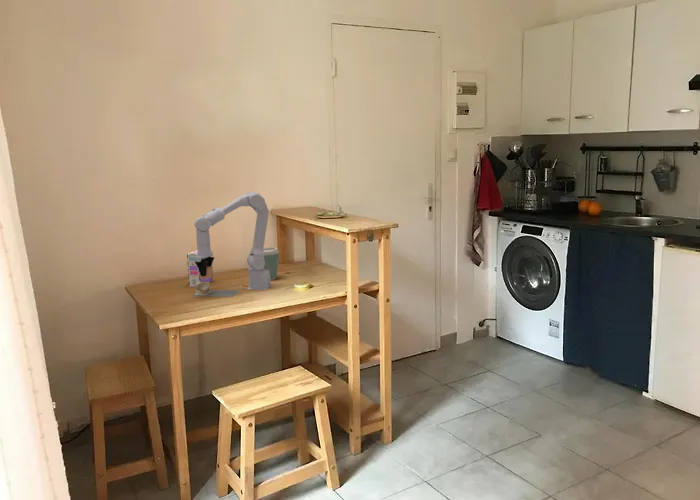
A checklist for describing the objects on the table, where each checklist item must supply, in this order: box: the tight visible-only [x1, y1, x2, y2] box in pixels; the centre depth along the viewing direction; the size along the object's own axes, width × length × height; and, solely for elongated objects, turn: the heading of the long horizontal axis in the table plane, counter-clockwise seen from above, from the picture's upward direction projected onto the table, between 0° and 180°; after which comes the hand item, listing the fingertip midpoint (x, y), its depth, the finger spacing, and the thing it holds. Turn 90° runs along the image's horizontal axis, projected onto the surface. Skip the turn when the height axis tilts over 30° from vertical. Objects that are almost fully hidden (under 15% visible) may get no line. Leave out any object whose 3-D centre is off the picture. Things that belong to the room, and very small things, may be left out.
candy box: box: [186, 249, 213, 288], centre depth 280 cm, size 14×6×16 cm, turn 168°
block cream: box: [195, 282, 211, 294], centre depth 263 cm, size 4×4×4 cm
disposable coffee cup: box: [263, 246, 280, 281], centre depth 288 cm, size 11×11×15 cm
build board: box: [191, 289, 241, 298], centre depth 262 cm, size 19×11×1 cm, turn 81°
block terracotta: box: [199, 266, 214, 278], centre depth 261 cm, size 4×4×4 cm
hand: (205, 274), depth 261 cm, fingers closed on block terracotta, 4 cm apart
